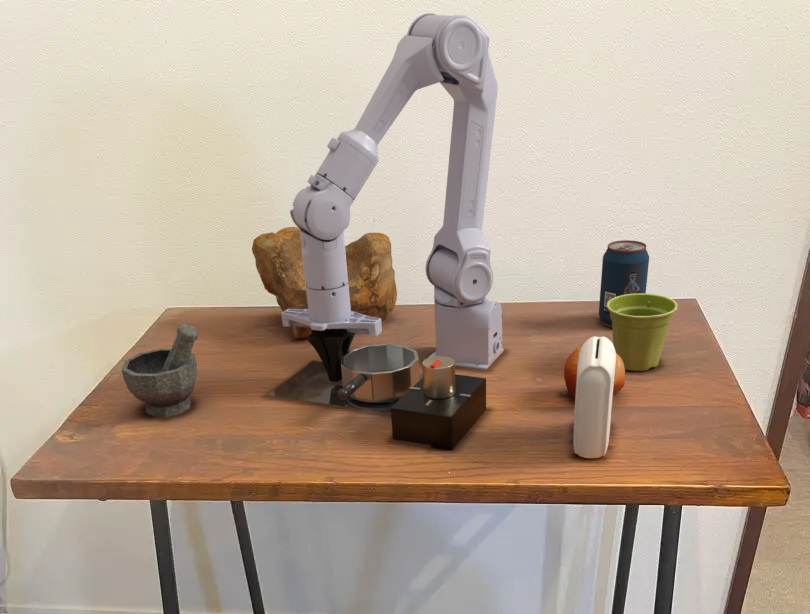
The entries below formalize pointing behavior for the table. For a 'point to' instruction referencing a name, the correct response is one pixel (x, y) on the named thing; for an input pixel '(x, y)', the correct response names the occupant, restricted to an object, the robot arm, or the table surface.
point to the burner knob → (439, 377)
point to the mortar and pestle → (164, 375)
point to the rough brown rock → (364, 268)
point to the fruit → (571, 373)
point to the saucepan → (379, 373)
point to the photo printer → (594, 397)
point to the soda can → (622, 273)
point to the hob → (322, 390)
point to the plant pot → (640, 328)
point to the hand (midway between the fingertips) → (336, 379)
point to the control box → (439, 413)
